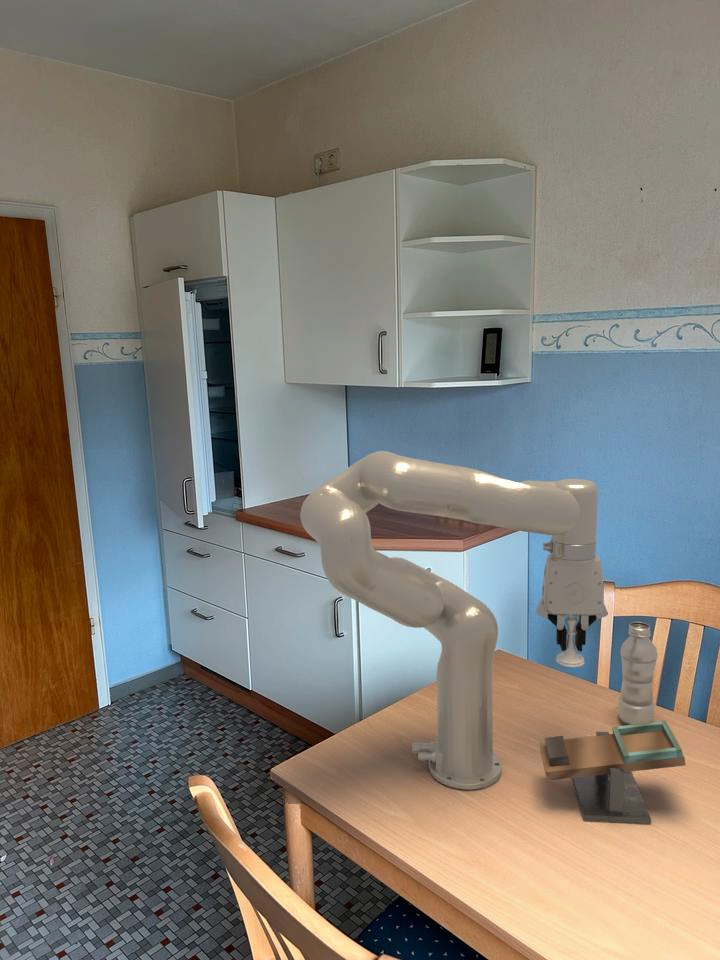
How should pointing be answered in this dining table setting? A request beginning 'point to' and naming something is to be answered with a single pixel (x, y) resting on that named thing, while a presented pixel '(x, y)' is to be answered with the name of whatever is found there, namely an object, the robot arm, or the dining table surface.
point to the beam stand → (611, 797)
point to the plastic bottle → (637, 676)
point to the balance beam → (612, 751)
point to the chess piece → (570, 647)
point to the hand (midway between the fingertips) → (570, 647)
